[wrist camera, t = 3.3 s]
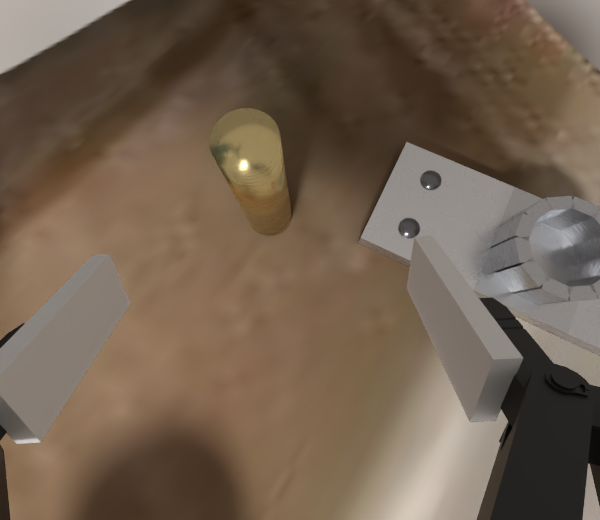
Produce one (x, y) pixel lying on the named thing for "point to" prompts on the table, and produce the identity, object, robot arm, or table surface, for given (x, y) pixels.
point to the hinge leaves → (497, 240)
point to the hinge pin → (254, 167)
